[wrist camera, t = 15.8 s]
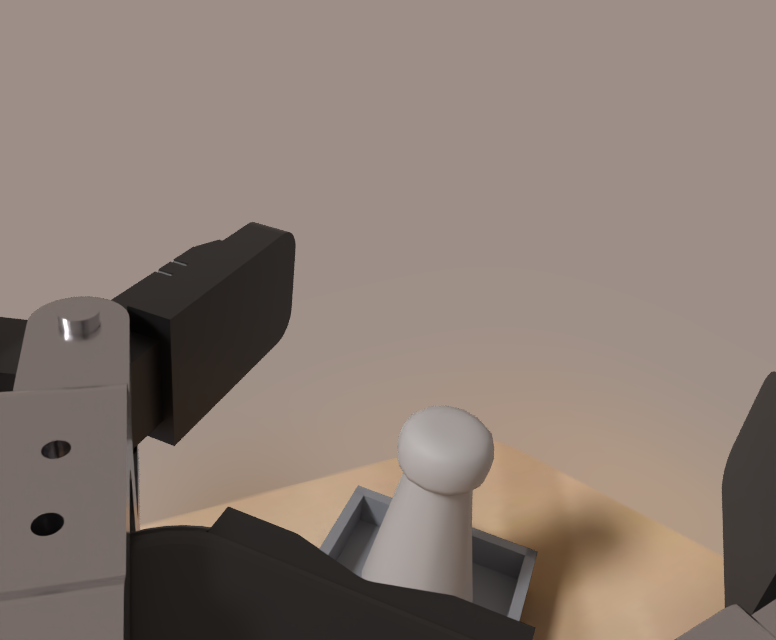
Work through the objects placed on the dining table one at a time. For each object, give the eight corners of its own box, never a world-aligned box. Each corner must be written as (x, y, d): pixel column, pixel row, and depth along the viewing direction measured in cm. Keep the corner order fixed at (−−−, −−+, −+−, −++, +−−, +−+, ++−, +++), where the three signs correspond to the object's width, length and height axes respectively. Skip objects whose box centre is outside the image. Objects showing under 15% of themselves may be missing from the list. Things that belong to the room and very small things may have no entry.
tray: (525, 587, 43) (537, 551, 42) (478, 764, 34) (490, 727, 33) (353, 521, 46) (358, 485, 44) (266, 669, 37) (269, 631, 35)
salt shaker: (484, 645, 38) (542, 456, 32) (385, 683, 36) (425, 487, 29) (430, 560, 43) (471, 378, 36) (339, 588, 40) (364, 399, 34)
